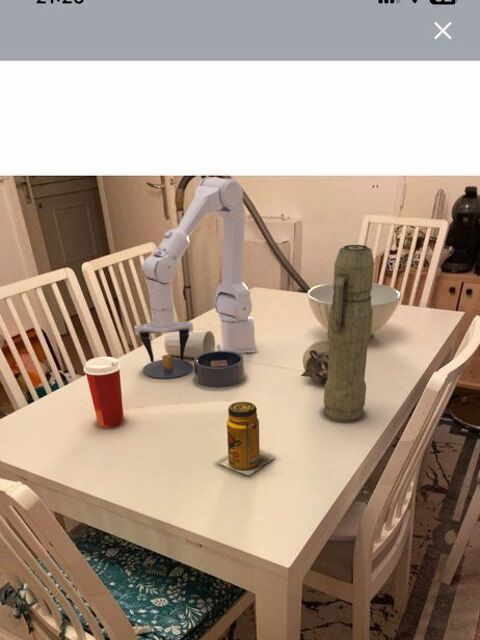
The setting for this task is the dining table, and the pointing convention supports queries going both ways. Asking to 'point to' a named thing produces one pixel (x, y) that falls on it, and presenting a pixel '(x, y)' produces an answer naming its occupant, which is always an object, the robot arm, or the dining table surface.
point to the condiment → (244, 439)
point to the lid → (168, 368)
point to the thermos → (349, 334)
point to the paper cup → (105, 390)
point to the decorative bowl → (381, 300)
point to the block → (219, 363)
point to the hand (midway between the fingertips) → (167, 359)
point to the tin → (219, 369)
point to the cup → (190, 343)
